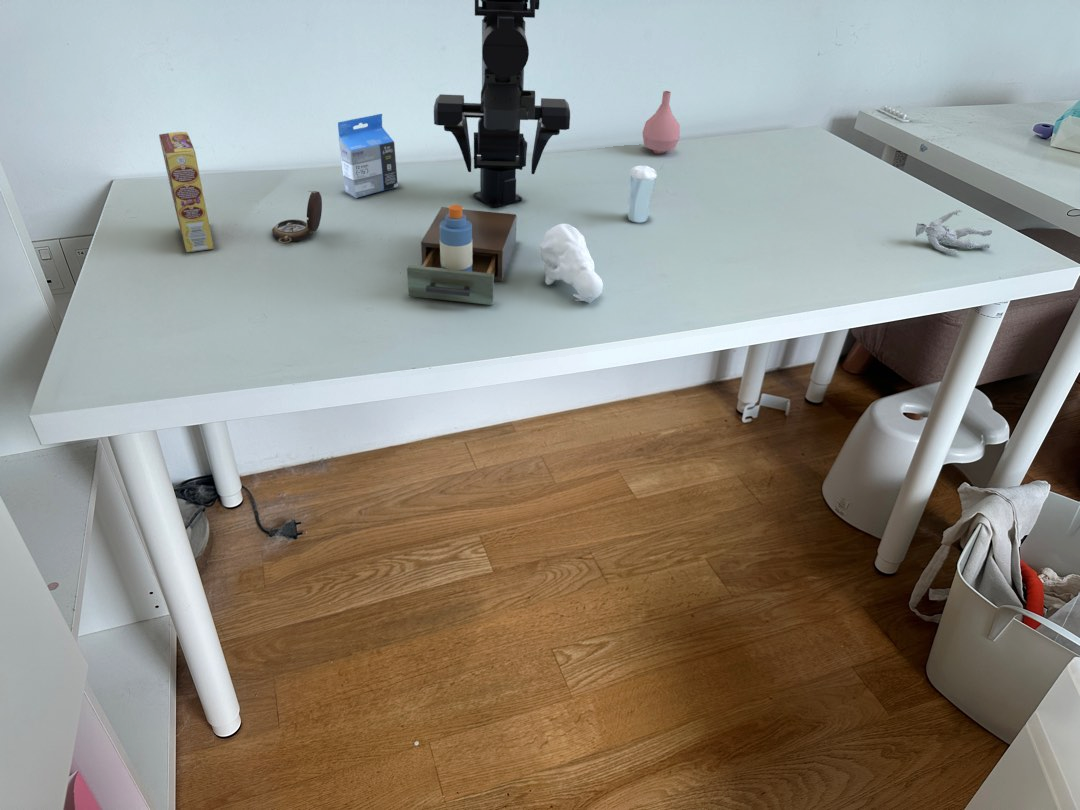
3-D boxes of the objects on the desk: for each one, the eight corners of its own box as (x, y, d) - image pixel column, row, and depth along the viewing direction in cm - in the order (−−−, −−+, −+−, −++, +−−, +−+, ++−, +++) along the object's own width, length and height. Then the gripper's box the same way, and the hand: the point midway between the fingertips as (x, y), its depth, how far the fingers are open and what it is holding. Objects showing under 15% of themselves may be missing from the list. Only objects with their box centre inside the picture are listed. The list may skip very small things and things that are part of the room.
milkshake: (654, 226, 135) (662, 169, 129) (622, 222, 135) (629, 165, 129) (656, 216, 138) (664, 159, 132) (626, 212, 139) (632, 156, 133)
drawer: (431, 255, 122) (429, 228, 119) (508, 262, 121) (508, 235, 118) (405, 302, 110) (403, 273, 107) (490, 311, 109) (490, 282, 106)
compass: (278, 225, 128) (271, 181, 124) (327, 227, 128) (322, 184, 124) (263, 246, 122) (255, 201, 118) (314, 249, 122) (308, 204, 118)
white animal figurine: (575, 214, 115) (621, 255, 108) (568, 265, 121) (612, 307, 114) (538, 222, 113) (582, 264, 105) (533, 273, 118) (574, 317, 111)
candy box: (217, 249, 121) (195, 150, 111) (186, 253, 119) (162, 153, 110) (208, 226, 127) (187, 130, 118) (180, 230, 125) (156, 133, 116)
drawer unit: (442, 236, 128) (441, 206, 125) (515, 243, 127) (516, 214, 124) (422, 273, 118) (420, 242, 114) (501, 281, 117) (502, 250, 114)
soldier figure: (989, 264, 131) (932, 242, 128) (965, 271, 136) (909, 251, 132) (994, 220, 132) (938, 198, 129) (970, 229, 137) (915, 207, 134)
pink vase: (633, 152, 164) (640, 92, 157) (651, 142, 169) (658, 84, 162) (666, 161, 160) (675, 100, 153) (683, 151, 166) (693, 91, 158)
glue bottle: (435, 277, 114) (432, 205, 107) (461, 269, 116) (460, 198, 109) (452, 290, 111) (450, 216, 104) (478, 282, 113) (478, 209, 107)
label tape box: (355, 199, 138) (348, 128, 131) (343, 191, 140) (336, 121, 133) (398, 188, 143) (394, 119, 135) (386, 181, 145) (381, 112, 138)
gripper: (428, 70, 100) (432, 190, 109) (576, 76, 100) (568, 194, 110) (435, 50, 109) (438, 163, 118) (570, 56, 109) (563, 167, 119)
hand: (501, 172), depth 116 cm, fingers open, 9 cm apart
